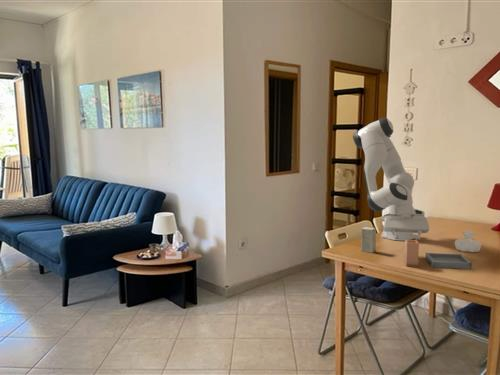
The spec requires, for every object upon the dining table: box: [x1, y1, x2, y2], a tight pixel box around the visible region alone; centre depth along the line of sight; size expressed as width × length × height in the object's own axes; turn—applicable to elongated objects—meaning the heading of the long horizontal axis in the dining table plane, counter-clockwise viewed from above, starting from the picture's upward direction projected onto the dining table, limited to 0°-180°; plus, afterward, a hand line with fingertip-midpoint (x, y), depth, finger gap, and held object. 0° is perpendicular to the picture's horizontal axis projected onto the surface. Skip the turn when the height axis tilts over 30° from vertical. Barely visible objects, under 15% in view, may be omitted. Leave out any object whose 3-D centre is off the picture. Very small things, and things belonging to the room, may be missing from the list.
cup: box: [403, 239, 420, 268], centre depth 184 cm, size 5×5×11 cm
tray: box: [424, 252, 473, 270], centre depth 186 cm, size 14×16×2 cm
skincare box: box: [360, 226, 377, 254], centre depth 206 cm, size 6×4×12 cm
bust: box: [454, 230, 482, 253], centre depth 205 cm, size 12×8×11 cm
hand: (407, 239), depth 188 cm, fingers open, 8 cm apart
